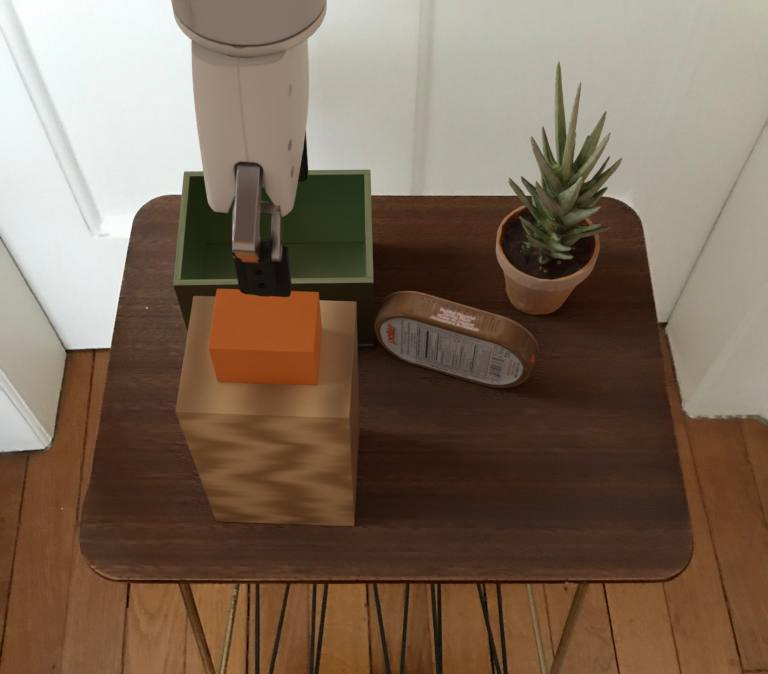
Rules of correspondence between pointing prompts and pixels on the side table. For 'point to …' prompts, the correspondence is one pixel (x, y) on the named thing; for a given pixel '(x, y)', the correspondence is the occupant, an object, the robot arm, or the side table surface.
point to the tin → (456, 339)
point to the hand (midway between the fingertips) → (275, 232)
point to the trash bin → (287, 243)
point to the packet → (266, 338)
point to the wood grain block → (275, 430)
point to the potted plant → (555, 218)
